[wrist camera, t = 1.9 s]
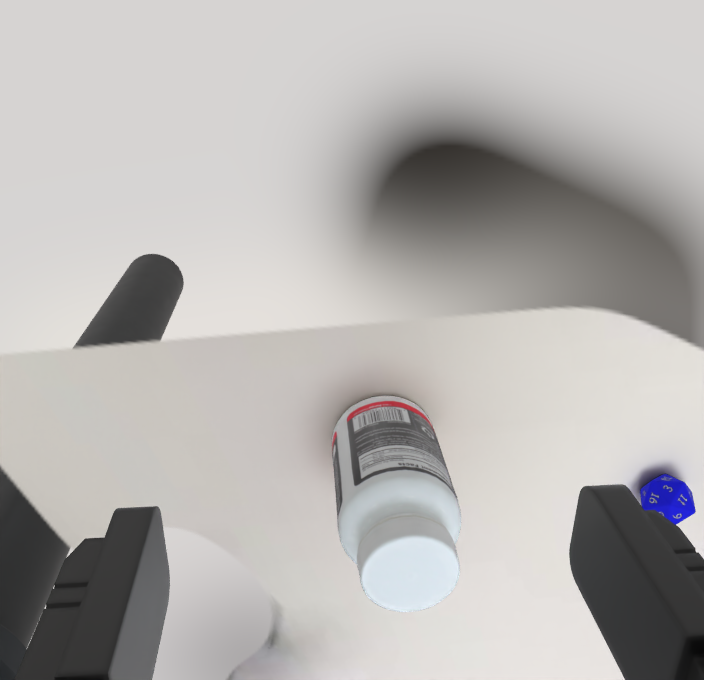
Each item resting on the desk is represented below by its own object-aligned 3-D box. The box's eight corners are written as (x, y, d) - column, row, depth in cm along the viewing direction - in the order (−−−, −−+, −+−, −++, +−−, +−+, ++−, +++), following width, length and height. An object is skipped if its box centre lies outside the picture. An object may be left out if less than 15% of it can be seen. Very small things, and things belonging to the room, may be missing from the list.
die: (644, 459, 37) (699, 480, 35) (657, 475, 39) (711, 496, 37) (622, 503, 37) (678, 527, 35) (637, 518, 39) (690, 542, 36)
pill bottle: (401, 492, 37) (432, 641, 28) (313, 456, 36) (317, 602, 27) (453, 416, 35) (504, 550, 26) (362, 375, 34) (383, 503, 25)
